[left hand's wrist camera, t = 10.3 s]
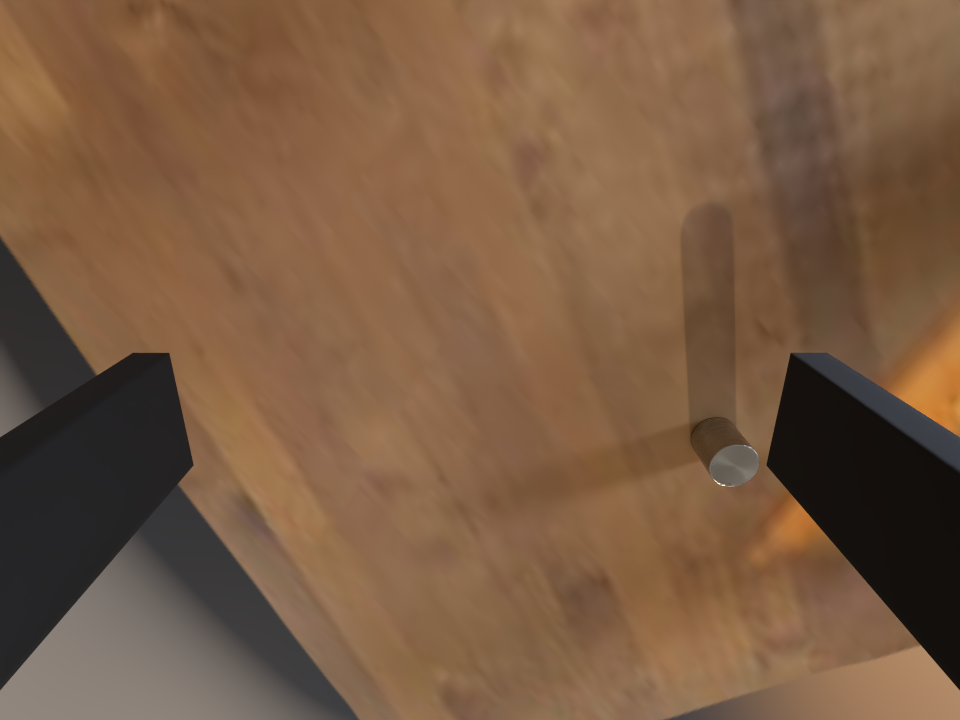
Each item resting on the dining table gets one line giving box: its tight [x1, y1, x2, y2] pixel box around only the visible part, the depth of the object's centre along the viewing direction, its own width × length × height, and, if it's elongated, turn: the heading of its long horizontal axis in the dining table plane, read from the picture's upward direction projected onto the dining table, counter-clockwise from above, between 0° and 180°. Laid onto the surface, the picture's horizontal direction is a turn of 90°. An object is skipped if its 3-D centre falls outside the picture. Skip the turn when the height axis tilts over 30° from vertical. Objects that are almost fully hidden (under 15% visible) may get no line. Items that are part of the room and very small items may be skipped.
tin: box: [691, 417, 759, 487], centre depth 44 cm, size 4×4×4 cm
